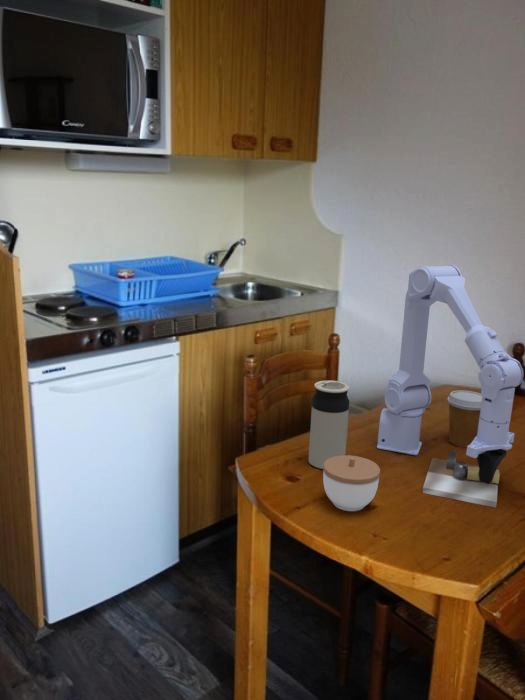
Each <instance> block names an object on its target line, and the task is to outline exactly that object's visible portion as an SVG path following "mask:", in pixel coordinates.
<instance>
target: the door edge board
mask: <svg viewBox="0 0 525 700" xmlns="http://www.w3.org/2000/svg"><path fill="white" fill-rule="evenodd" d="M467 464H468V463H467ZM446 465H447V459H441V458H435V457H432V458H431V462H430V465H429V467H428V471H427V474H426V477H425V481H424V484H423V486H422V494H427V495H432V496H435V497H436V496H437V497H441V498H446V499H451V500H457V501H462V502H465V503H466V502H467V503H470V504H475V505H480V506H487V507H491V508H497V504H498V489H499V488H498V487H499V486H498V485H499V484H498V483H490V484H487V483H484V482H482V481H476V480H469V479H467V478H466V479H458V478H456V477H454V476H453V471H454V470H450V469H446ZM468 465H469V466H471V467H479V465H474V464H468ZM496 470H498V468H497V469H496Z"/></svg>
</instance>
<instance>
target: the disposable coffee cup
mask: <svg viewBox="0 0 525 700" xmlns="http://www.w3.org/2000/svg"><path fill="white" fill-rule="evenodd" d="M447 401H448V417H449V418H448V419H449V420H448V426H449V428H448V430H449V431H448V432H449V434H448V435H449V438H448V440H449V443H450V444H452V445H454V446H458V447H461V448H467V446H468V445H470V444H471V443H472V441H473V440H474V439H475V437H476V436H477V432H478V424H479V417H480V410H481V403H482V393H481V392H476V391H472V390H453V391H451V392H450V393H449V395H448V397H447Z"/></svg>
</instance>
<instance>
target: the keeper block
mask: <svg viewBox="0 0 525 700" xmlns="http://www.w3.org/2000/svg"><path fill="white" fill-rule="evenodd" d="M446 460H447V465H446V469H450V470H454V464H455V462H457V461H456V460H457V452H456V451H452V450H451V451H450V450H449V451H448V455H447V459H446Z"/></svg>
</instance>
